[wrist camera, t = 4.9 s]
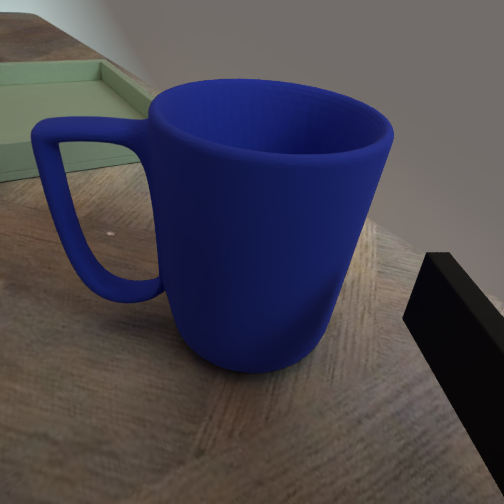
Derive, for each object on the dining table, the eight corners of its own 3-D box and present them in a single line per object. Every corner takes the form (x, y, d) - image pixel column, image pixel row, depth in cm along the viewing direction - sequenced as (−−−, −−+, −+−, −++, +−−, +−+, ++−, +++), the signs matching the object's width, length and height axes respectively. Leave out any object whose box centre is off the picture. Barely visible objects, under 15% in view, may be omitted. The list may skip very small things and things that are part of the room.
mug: (89, 268, 24) (61, 64, 18) (318, 274, 25) (358, 85, 19) (39, 401, 17) (-30, 140, 11) (357, 400, 18) (436, 165, 13)
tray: (190, 154, 37) (190, 123, 35) (-68, 192, 29) (-81, 152, 27) (107, 83, 52) (105, 59, 50) (-79, 94, 43) (-88, 65, 42)
